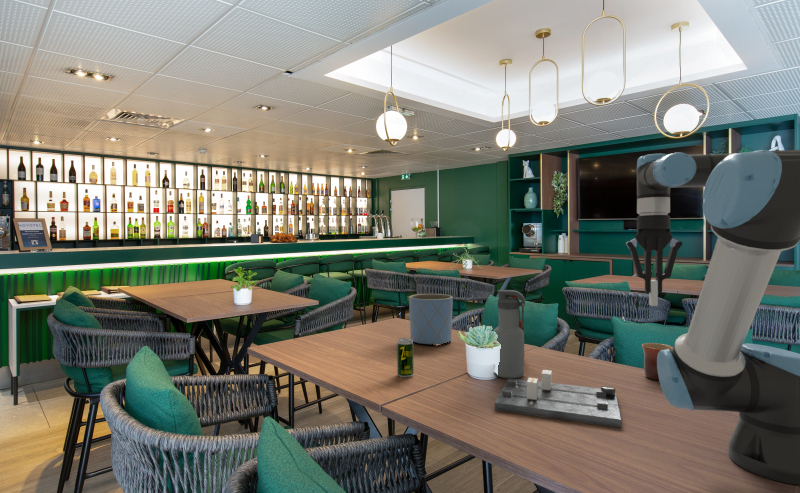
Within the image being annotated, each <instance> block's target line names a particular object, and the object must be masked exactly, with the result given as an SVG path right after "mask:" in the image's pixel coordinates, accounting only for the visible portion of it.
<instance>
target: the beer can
mask: <svg viewBox="0 0 800 493" xmlns="http://www.w3.org/2000/svg"><path fill="white" fill-rule="evenodd" d="M396 350H397V351H396V353H397V355H396V356H397V357H396V360H397V361H396V363H397V366H396V367H397V368H396V370H397V376H398V377H399V376H400V377H399V378H402V377H409V378H411V376H412V377H413V376H414V372H415V370H414V366H415V365H414V343H413V339H411V337H402V338H398V339H397V343H396Z"/></svg>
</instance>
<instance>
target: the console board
mask: <svg viewBox="0 0 800 493" xmlns="http://www.w3.org/2000/svg"><path fill="white" fill-rule="evenodd" d="M527 381H528V379H520V378H516V379H512V378H508V379H507V378H506V381H505V383H504V385H503V387H502V388H501V390H500V393H499V394H498V396H497V397H496V400H495V401H494V411H498V412H504V413H505V412H506V413H512V414H519V415H520V414H521V415H525V416H526V415H527V416H532V417H533V416H534V417H540V418H549V419H556V420H561V421H562V420H563V421H569V422H570V421H571V422H577V423H584V424H590V425H597V426H606V427H612V428H620V429H621V428H622V417H621V413H620V408H619V403H618V398H617V393H616V388H615V387H612V386H607V385H603V386H600V387H591V386H582V385H575V384H566V383H555V382H552V388H551V390H544V389H542V381H539V380H538V397H537V400H534V399H527Z"/></svg>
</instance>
